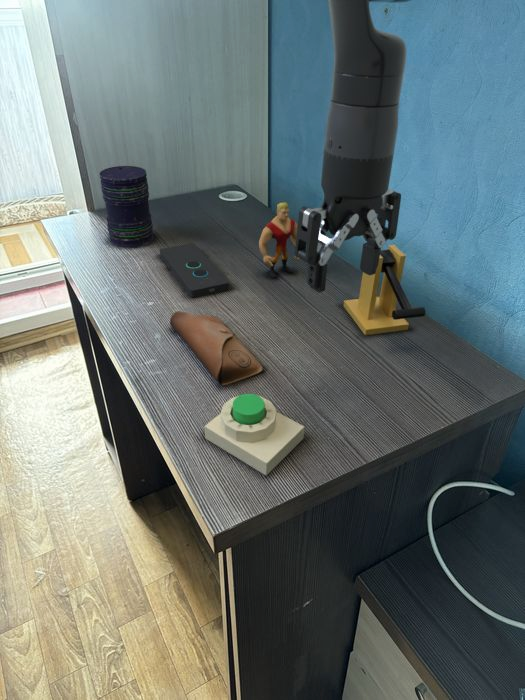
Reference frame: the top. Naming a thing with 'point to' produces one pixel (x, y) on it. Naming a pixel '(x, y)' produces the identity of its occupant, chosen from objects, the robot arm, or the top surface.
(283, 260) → the action figure
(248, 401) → the light button
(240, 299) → the top surface
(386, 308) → the lever bracket
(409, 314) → the switch lever
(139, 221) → the storage jar
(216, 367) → the sunglasses case
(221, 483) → the top surface
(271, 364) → the top surface
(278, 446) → the switch box
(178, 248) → the smart home device
